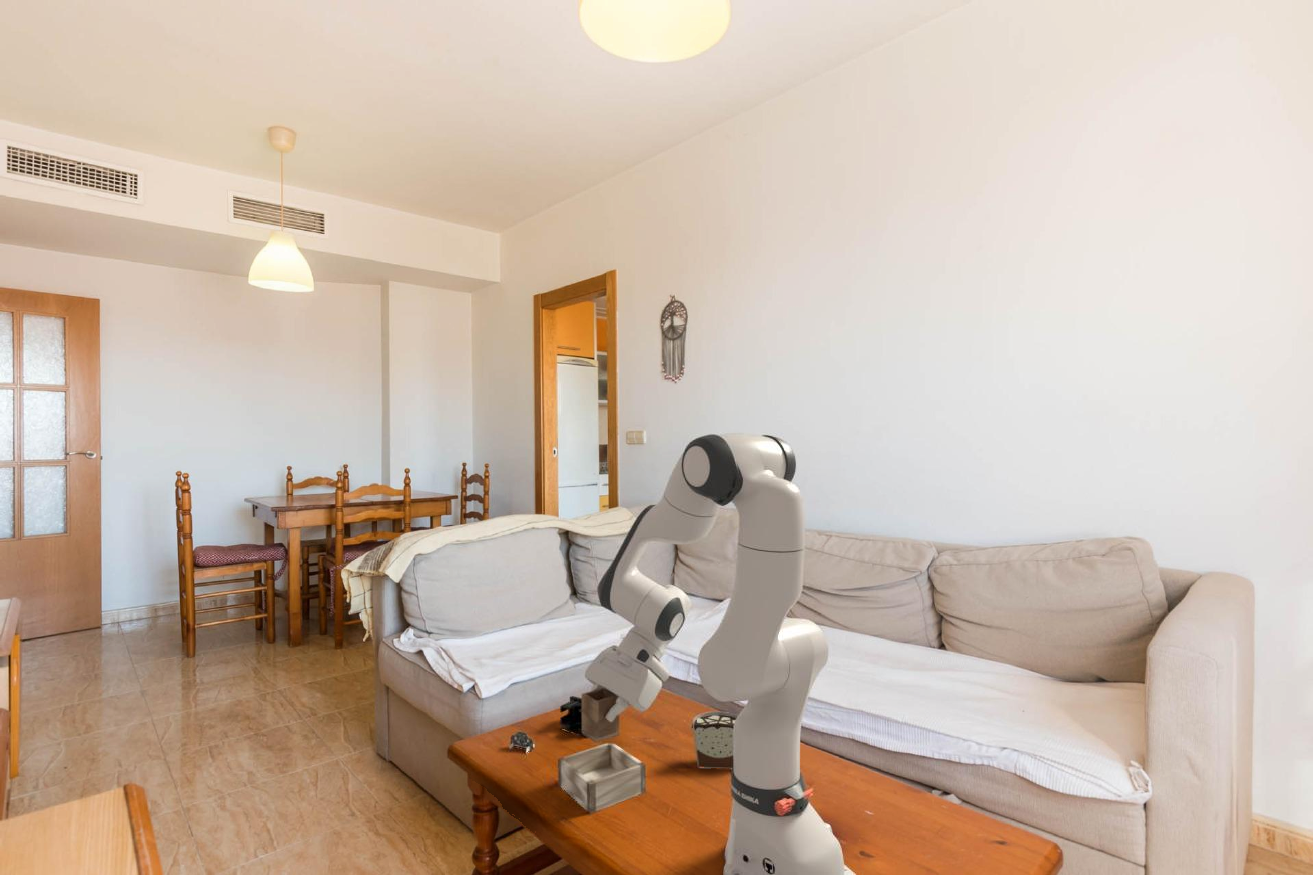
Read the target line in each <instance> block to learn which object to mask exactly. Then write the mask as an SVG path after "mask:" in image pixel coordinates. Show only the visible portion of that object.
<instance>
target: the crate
mask: <svg viewBox="0 0 1313 875" xmlns="http://www.w3.org/2000/svg"><path fill="white" fill-rule="evenodd" d="M557 768H558V771H557V772H558V773H557V774H558V777H557V778H558V785H559V786H560V787H561V788H563V789H562V791H564V790H565V791H566V792H567V793H568V794H569V795H570V796H569V797H570V798H572V799H573V800H574V799H575V800H574V801H575V802H576V801H577V802H576V803H577V804H578V805H579V806H581V807H582V808H583V809H584V810H586V811H587V812H588V813H589V814H590V815H591V814H594V813H596V812H598V811H601V810H604V809H606V808H608V807H609V808H610V806H615V805H616V804H619V803H621V802H623V801H627V800H629V799H632V798H634V797H637V796H640V795H641V794H644V793H646V792H647V788H646V784H647V783H646V779H647V778H646V777H647V776H646V774H647V773H646V764H645V763H644V762H642V761H641V760H639V759H638V758H636V757H635V756H633V755H632V754H630V753H629V752H628V751H626V750H625V749H623V748H621V747H620V746H618V745H617V744H616V743H614V742H612V741H609V742H606V743H603V744H600V745H597V746H594V747H591V748H588V749H585V750H581V751H579V752H576V753H572V754H569V755H566V756H563V757H560V758H558V759H557ZM559 786H558V787H559ZM560 787H559V788H560ZM561 788H560V789H561ZM565 791H564V792H565ZM566 792H565V793H566ZM567 793H566V794H567ZM568 794H567V795H568ZM639 794H640V795H639Z"/></svg>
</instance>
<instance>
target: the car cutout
mask: <svg viewBox="0 0 1313 875" xmlns="http://www.w3.org/2000/svg"><path fill="white" fill-rule="evenodd" d="M512 747H519V748H522V749H521V750H523V749H526V750H525V754H526V753H527V752H528V751H530V750H532V751H533V750H535V743H534V740H533V739H532V738H531V737H529V735H528V733H526V732H525V731H524V732H523V731H518V730H517V731H516V732H515V734H511V736H510V742H509V747H508V748H509V749H511V748H512ZM512 749H513V748H512ZM512 749H511V750H512ZM530 752H531V751H530ZM528 753H529V752H528ZM528 753H527V754H528Z"/></svg>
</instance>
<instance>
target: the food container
mask: <svg viewBox="0 0 1313 875" xmlns="http://www.w3.org/2000/svg"><path fill="white" fill-rule="evenodd" d="M738 715H739V714H736V713H733V712H728V711H722V710H721V711H707V712H703V713H700V714H697V715H696V716H695V717H694V718H693V719H692V722H691V726H690V731H693V737H694V746H695V753H696V756H695V757H696V762H697V768H698V767H704V768H703V769H711V768H733V727H734V723H735V721H736V719H737V717H738Z"/></svg>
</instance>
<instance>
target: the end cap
mask: <svg viewBox="0 0 1313 875" xmlns="http://www.w3.org/2000/svg"><path fill="white" fill-rule="evenodd" d="M559 710H560V713H564V712H566V711H568V712H567V713H566V714H563V716H561V717H560V720H559V723H560V725H561V730H562V729H565V730H567V731H569V732H568V733H570V732H573V733H575V734H574V735H576V734H579V735H580V737H583V736H584V737H583V738H586V736H585V735H584V734H582V697H579V696H575V695H571V696H569V701H568V702H566V703H564V704H562V705H560V707H559ZM567 731H566V732H567ZM573 733H572V734H573ZM579 735H578V736H579ZM586 739H589V738H588V737H587V738H586Z"/></svg>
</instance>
